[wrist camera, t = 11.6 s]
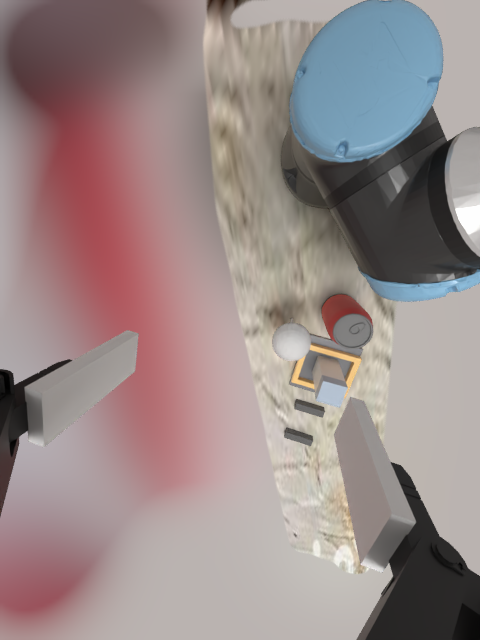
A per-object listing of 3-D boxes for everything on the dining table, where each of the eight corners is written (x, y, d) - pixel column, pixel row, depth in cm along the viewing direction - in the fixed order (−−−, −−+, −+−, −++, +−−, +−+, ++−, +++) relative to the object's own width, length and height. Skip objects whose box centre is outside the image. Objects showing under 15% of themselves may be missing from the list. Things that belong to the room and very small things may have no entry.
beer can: (365, 313, 48) (387, 335, 37) (335, 333, 51) (347, 360, 39) (343, 286, 48) (358, 301, 36) (313, 308, 50) (319, 328, 39)
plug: (317, 355, 52) (323, 380, 43) (338, 360, 51) (347, 387, 42) (312, 372, 53) (316, 400, 44) (331, 377, 53) (339, 407, 43)
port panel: (306, 332, 52) (306, 336, 50) (362, 348, 50) (364, 352, 48) (289, 383, 56) (289, 388, 54) (340, 398, 54) (342, 404, 52)
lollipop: (303, 336, 52) (306, 372, 38) (274, 330, 53) (267, 363, 39) (310, 306, 50) (317, 333, 36) (280, 301, 51) (275, 325, 37)
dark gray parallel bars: (296, 399, 56) (296, 403, 55) (323, 407, 56) (324, 411, 54) (284, 432, 60) (284, 437, 58) (310, 441, 59) (310, 446, 57)
